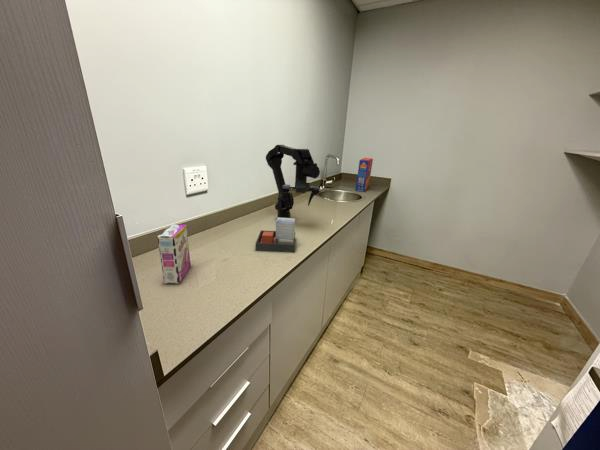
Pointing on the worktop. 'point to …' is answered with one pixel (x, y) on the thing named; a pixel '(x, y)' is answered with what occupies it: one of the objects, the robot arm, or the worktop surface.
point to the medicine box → (285, 228)
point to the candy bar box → (174, 253)
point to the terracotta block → (267, 237)
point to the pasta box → (364, 174)
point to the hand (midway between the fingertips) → (299, 205)
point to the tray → (275, 244)
